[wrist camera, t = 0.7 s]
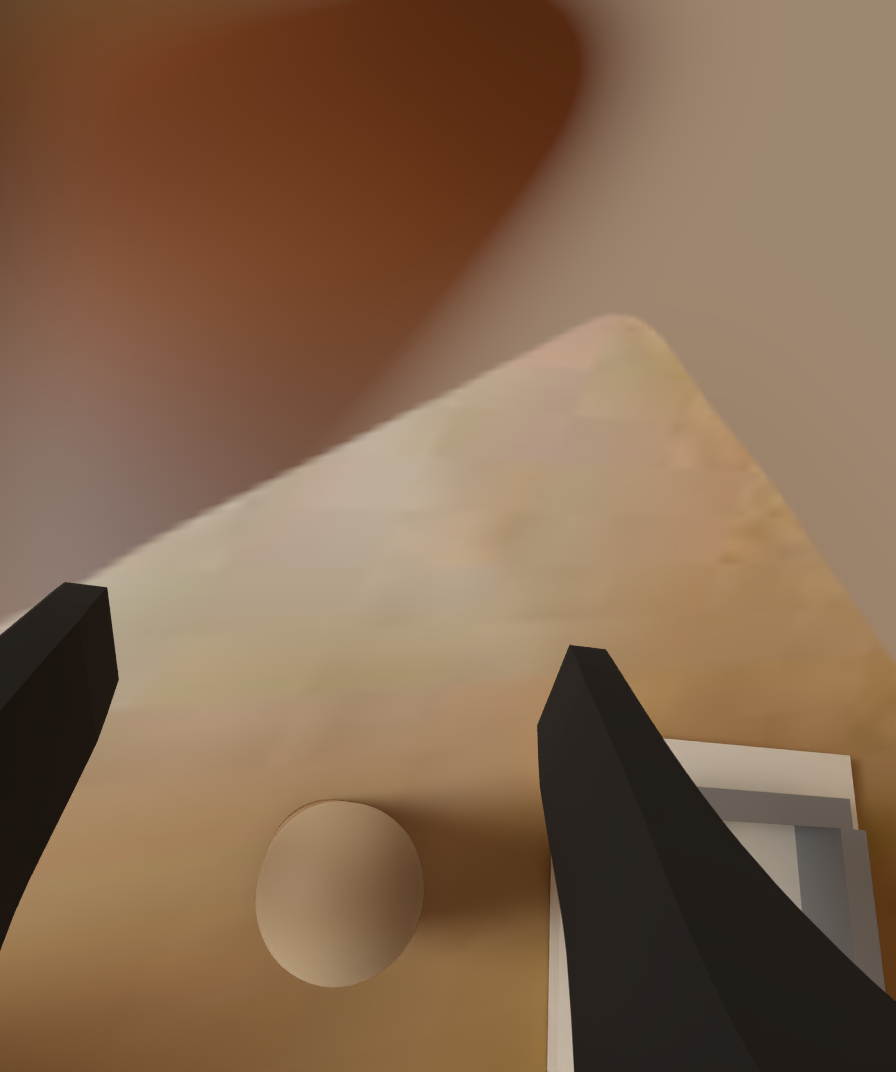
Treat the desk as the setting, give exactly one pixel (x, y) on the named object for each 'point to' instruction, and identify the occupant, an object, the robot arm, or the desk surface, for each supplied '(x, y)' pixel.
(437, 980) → the desk surface
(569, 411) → the desk surface
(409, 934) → the rail end peg
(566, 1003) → the cup bracket
